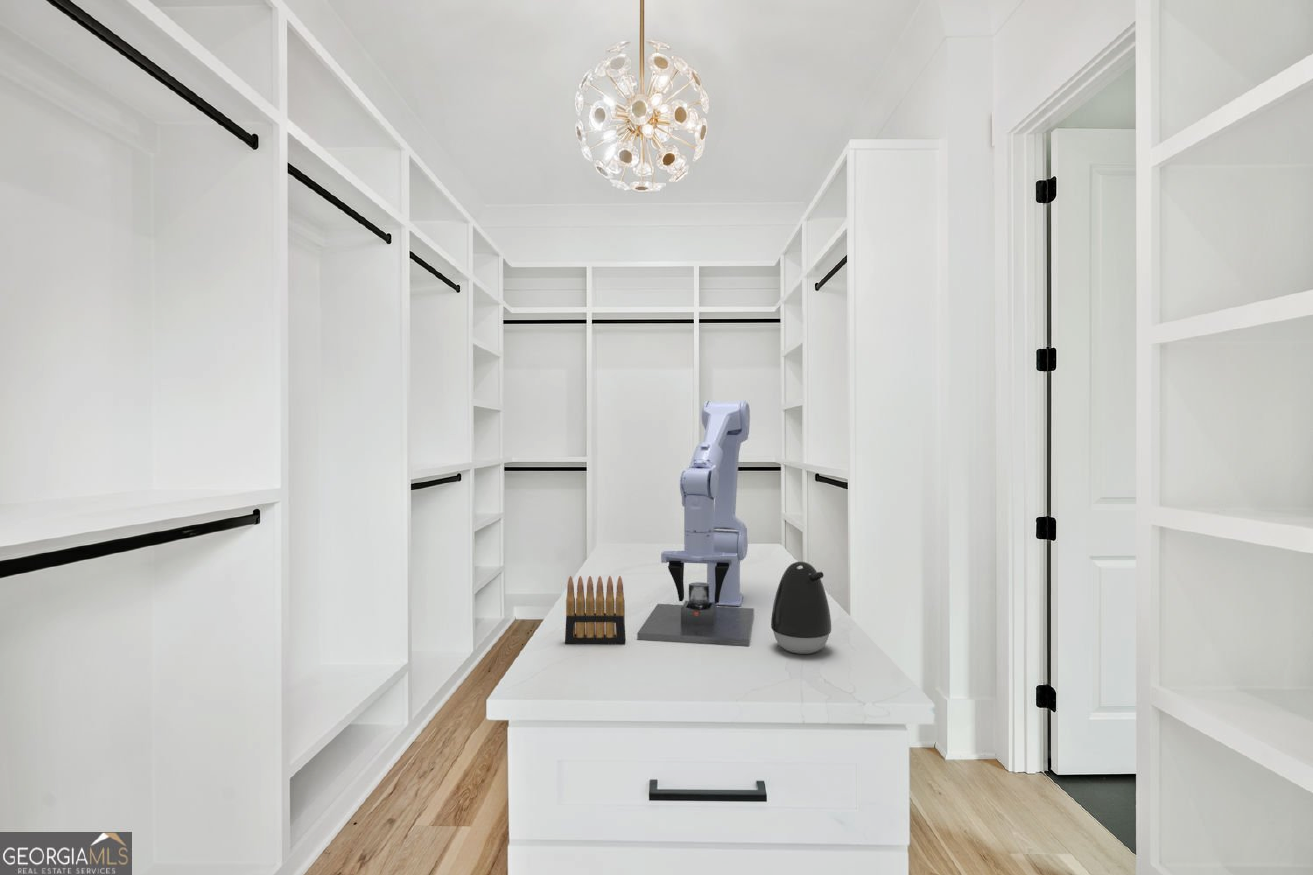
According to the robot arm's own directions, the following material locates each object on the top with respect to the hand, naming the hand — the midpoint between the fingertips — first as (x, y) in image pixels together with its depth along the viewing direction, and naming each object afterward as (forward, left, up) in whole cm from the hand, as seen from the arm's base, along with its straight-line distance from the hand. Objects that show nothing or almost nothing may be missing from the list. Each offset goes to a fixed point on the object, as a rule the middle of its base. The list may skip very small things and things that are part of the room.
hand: (699, 600), depth 130 cm
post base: (0, 0, -5) cm, 5 cm away
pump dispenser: (+10, +19, -5) cm, 22 cm away
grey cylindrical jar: (0, 0, -3) cm, 3 cm away
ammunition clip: (+13, -17, -5) cm, 22 cm away
